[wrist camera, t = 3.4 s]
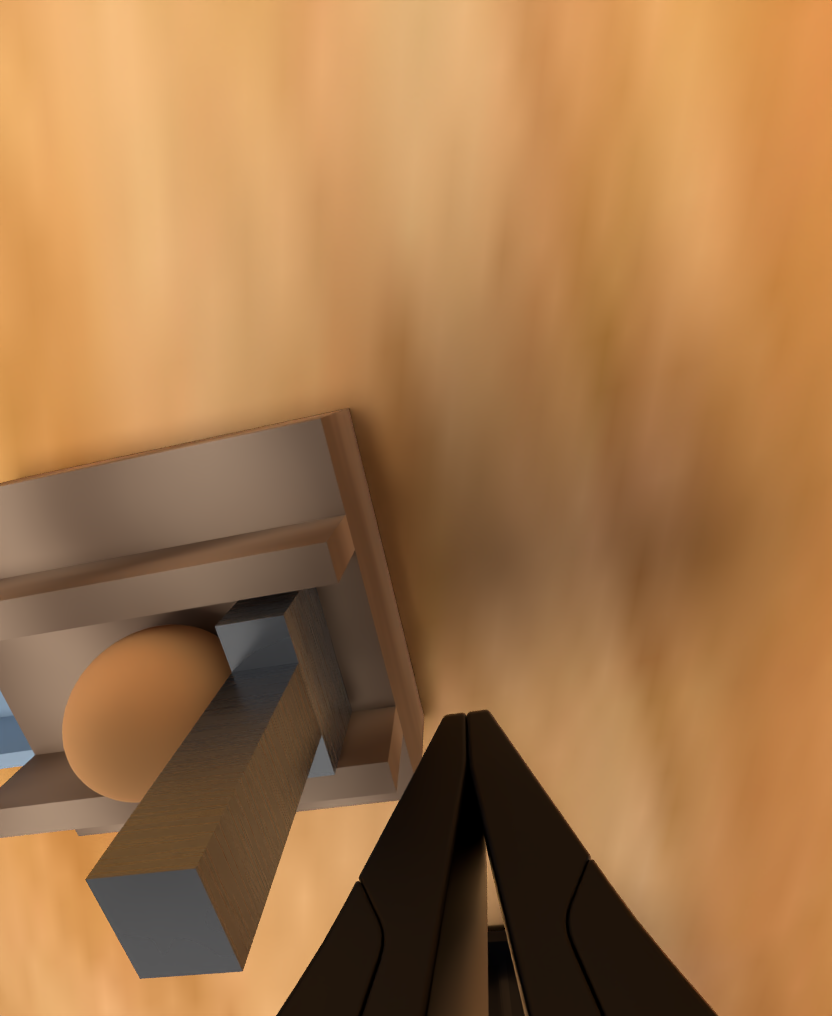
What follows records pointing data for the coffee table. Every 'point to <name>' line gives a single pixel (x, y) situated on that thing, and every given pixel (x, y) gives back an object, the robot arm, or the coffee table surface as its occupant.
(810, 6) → the coffee table surface
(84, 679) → the ball
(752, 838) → the coffee table surface
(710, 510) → the coffee table surface
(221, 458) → the brown stepped block
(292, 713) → the gray stepped block
